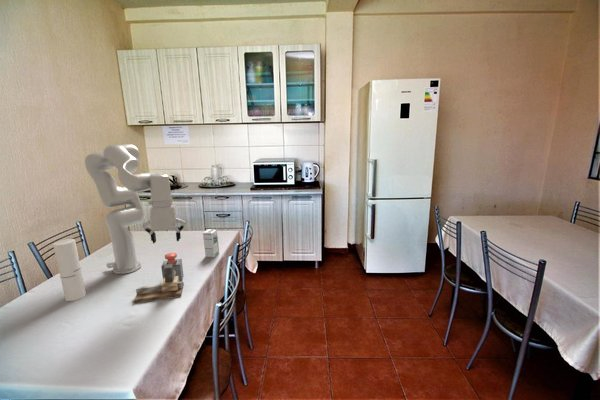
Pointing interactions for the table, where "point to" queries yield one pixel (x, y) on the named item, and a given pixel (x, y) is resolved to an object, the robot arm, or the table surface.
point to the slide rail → (156, 293)
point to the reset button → (171, 258)
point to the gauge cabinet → (175, 269)
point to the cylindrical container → (69, 269)
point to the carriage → (169, 279)
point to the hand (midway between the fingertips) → (166, 241)
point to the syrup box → (211, 243)
